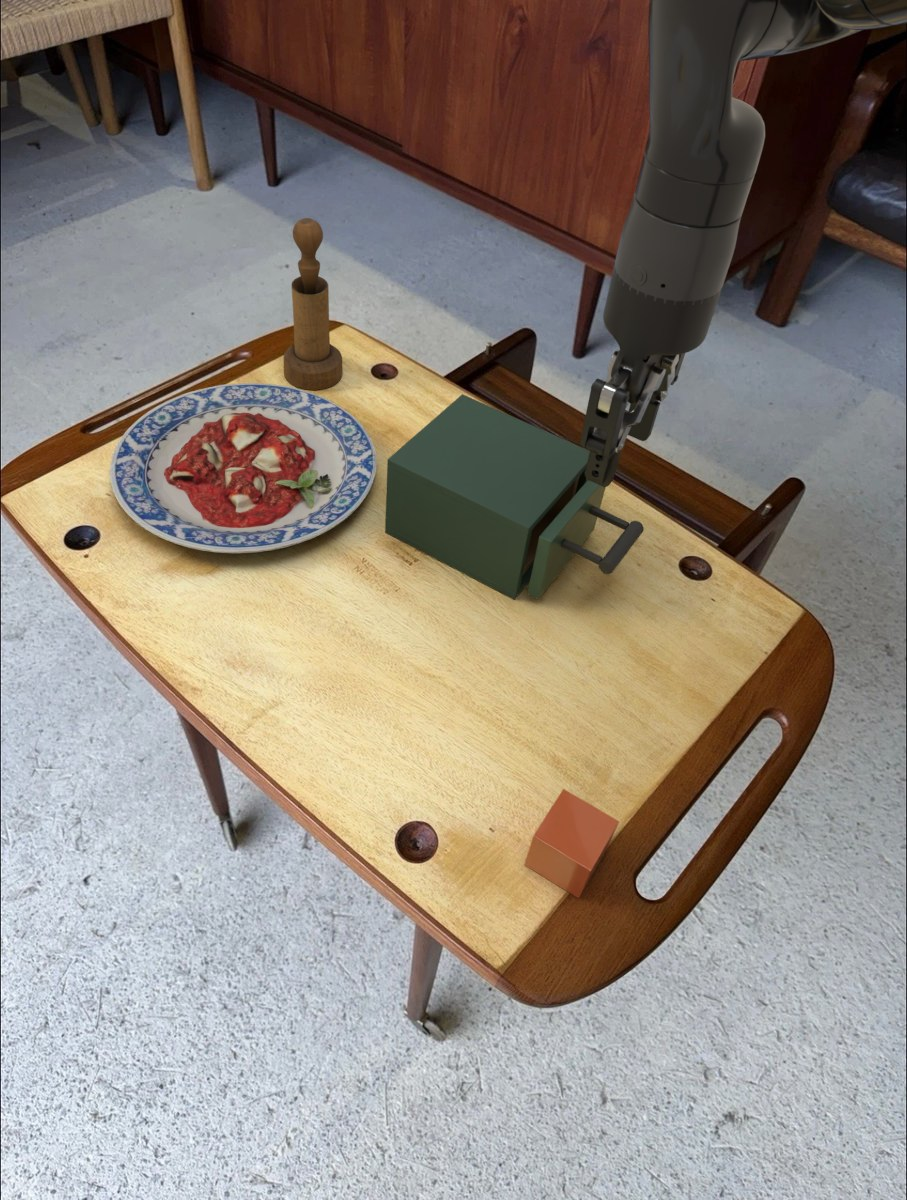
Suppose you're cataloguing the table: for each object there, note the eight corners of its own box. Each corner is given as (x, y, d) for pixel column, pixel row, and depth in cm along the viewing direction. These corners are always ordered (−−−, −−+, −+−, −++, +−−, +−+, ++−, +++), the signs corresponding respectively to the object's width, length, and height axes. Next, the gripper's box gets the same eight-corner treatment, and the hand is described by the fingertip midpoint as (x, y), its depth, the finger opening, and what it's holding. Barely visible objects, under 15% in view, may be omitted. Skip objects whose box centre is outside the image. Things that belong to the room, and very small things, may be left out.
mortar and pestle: (304, 397, 100) (296, 242, 86) (273, 368, 103) (261, 214, 90) (353, 378, 103) (353, 226, 90) (322, 351, 106) (317, 200, 93)
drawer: (642, 552, 86) (661, 496, 81) (589, 625, 80) (606, 569, 74) (477, 474, 92) (485, 416, 87) (415, 536, 85) (419, 477, 80)
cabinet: (577, 524, 90) (595, 453, 83) (514, 600, 82) (528, 528, 75) (454, 466, 94) (462, 393, 87) (384, 532, 87) (387, 459, 80)
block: (606, 850, 66) (619, 821, 63) (578, 898, 64) (591, 871, 60) (553, 818, 68) (563, 788, 64) (523, 864, 65) (533, 835, 62)
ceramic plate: (57, 481, 88) (50, 457, 85) (249, 371, 102) (247, 348, 100) (246, 611, 79) (242, 589, 76) (427, 470, 93) (428, 447, 91)
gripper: (679, 332, 56) (621, 525, 68) (756, 247, 64) (692, 432, 77) (573, 291, 58) (535, 484, 71) (661, 214, 67) (614, 399, 79)
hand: (617, 457), depth 74 cm, fingers open, 7 cm apart
